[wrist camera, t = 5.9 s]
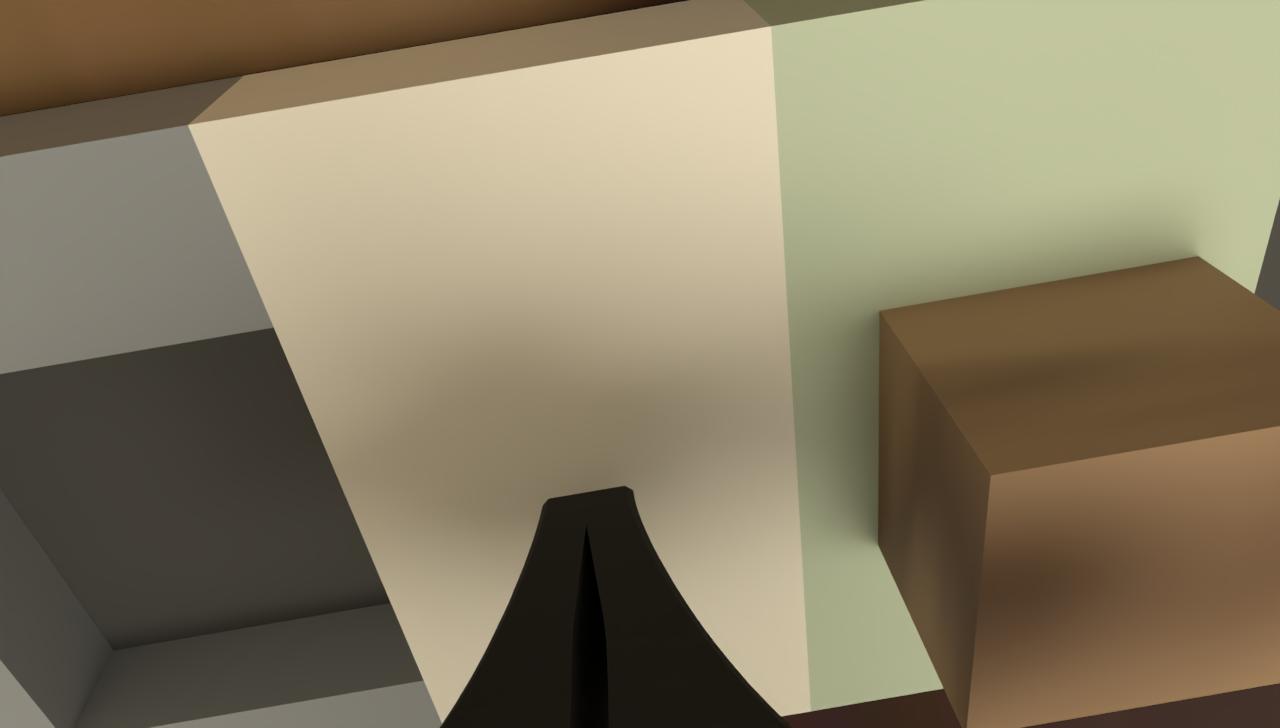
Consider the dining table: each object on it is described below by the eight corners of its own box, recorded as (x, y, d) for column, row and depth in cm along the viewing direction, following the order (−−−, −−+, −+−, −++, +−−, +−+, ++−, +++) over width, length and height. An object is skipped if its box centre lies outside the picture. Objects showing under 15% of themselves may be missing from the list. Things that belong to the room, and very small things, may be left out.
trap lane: (1449, 505, 21) (1551, 583, 19) (114, 734, 21) (65, 839, 19) (1775, -184, 13) (2007, -184, 11) (-314, 169, 13) (-477, 238, 11)
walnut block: (1144, 499, 16) (1302, 679, 13) (878, 544, 16) (965, 736, 13) (1198, 256, 14) (1415, 402, 10) (879, 310, 14) (990, 476, 10)
